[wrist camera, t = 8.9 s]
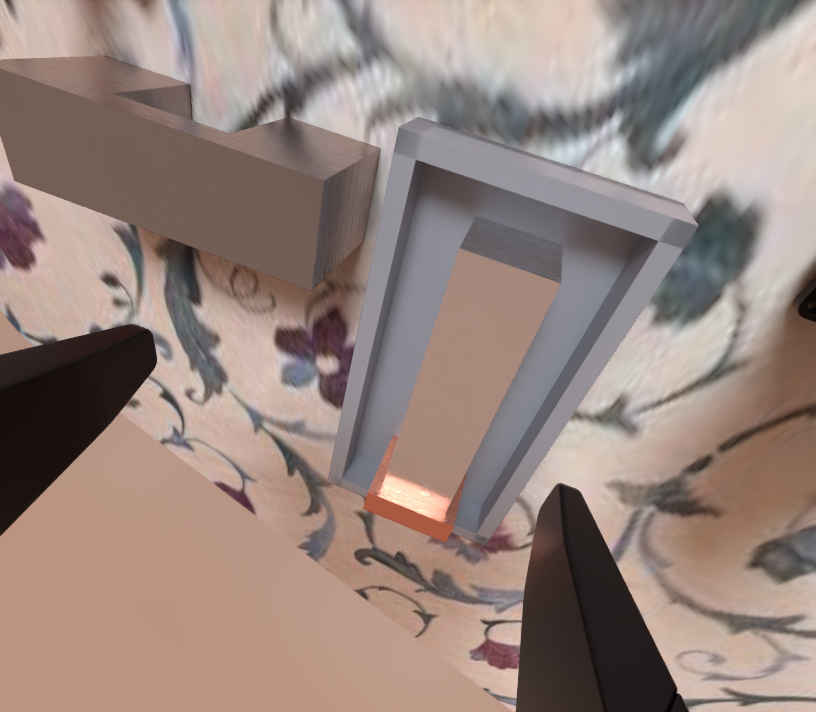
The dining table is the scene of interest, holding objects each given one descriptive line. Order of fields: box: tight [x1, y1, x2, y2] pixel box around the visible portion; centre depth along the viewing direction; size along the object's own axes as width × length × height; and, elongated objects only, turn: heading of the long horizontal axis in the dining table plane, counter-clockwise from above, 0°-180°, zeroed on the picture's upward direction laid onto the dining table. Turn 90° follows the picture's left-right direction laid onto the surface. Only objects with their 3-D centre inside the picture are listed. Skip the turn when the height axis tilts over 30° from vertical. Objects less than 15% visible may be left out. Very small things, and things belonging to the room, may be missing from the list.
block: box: [0, 56, 380, 291], centre depth 18 cm, size 12×4×5 cm, turn 76°
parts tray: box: [328, 117, 698, 546], centre depth 22 cm, size 10×20×2 cm, turn 166°
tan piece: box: [363, 216, 562, 542], centre depth 20 cm, size 15×5×4 cm, turn 166°
